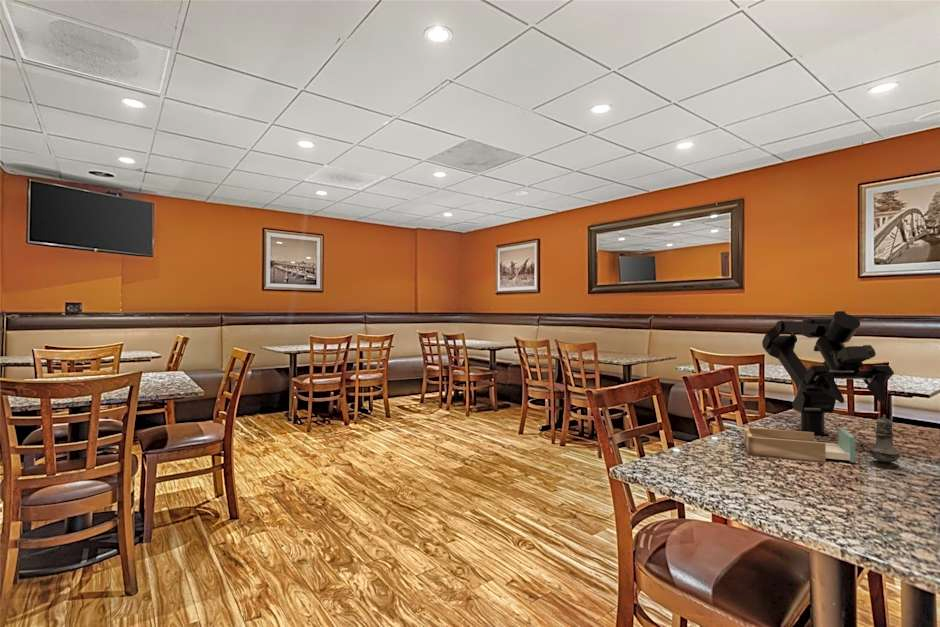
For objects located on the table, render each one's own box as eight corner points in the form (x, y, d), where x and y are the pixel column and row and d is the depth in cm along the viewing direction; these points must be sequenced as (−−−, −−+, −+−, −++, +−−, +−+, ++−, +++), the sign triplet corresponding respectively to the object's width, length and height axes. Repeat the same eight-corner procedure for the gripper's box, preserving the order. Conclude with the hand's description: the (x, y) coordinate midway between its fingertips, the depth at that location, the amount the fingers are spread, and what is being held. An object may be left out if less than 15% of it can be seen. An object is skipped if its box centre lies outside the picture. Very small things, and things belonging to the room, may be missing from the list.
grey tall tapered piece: (871, 467, 111) (871, 415, 110) (865, 459, 116) (865, 410, 116) (905, 470, 108) (905, 418, 108) (896, 463, 113) (896, 412, 113)
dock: (743, 443, 131) (743, 426, 131) (813, 449, 125) (813, 432, 125) (748, 454, 121) (748, 437, 121) (825, 462, 114) (825, 443, 114)
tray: (771, 445, 127) (771, 423, 127) (843, 452, 121) (843, 428, 121) (777, 455, 119) (777, 431, 119) (855, 462, 113) (855, 437, 113)
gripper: (809, 334, 125) (836, 383, 114) (888, 334, 123) (923, 383, 112) (793, 361, 133) (817, 408, 122) (867, 361, 131) (898, 409, 120)
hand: (863, 402), depth 119 cm, fingers open, 9 cm apart
